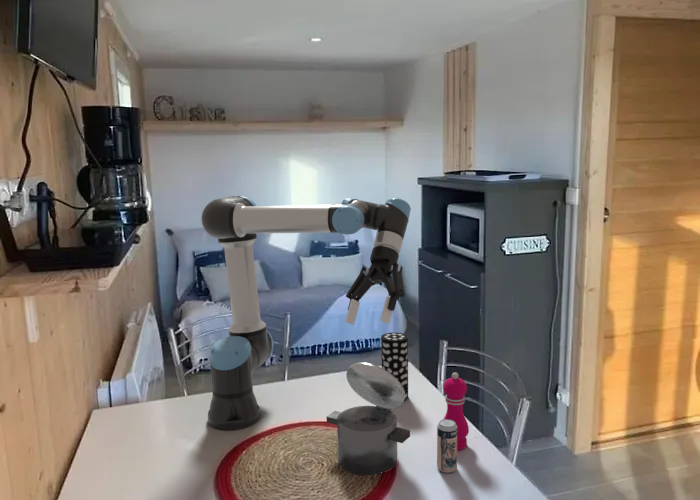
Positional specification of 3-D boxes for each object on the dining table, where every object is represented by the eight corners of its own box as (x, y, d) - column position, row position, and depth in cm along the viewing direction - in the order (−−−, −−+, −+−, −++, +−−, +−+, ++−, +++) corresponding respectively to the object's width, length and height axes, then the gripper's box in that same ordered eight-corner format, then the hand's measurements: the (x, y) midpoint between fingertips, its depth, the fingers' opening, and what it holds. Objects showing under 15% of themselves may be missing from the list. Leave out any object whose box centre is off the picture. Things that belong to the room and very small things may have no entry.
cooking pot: (315, 461, 146) (313, 420, 144) (347, 436, 158) (346, 398, 156) (391, 486, 134) (391, 442, 132) (420, 457, 146) (419, 416, 145)
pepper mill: (468, 452, 148) (469, 378, 145) (440, 450, 150) (440, 377, 146) (468, 439, 155) (469, 368, 152) (441, 437, 157) (441, 367, 153)
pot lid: (338, 361, 146) (343, 352, 148) (357, 403, 156) (362, 395, 157) (394, 372, 138) (399, 363, 139) (410, 416, 147) (414, 407, 149)
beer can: (444, 476, 138) (444, 429, 136) (433, 466, 142) (433, 420, 140) (460, 471, 140) (461, 424, 138) (450, 462, 144) (450, 416, 142)
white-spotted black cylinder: (409, 402, 179) (409, 340, 176) (382, 402, 179) (381, 341, 176) (407, 391, 187) (406, 332, 184) (381, 392, 187) (380, 332, 184)
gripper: (429, 252, 153) (410, 327, 145) (364, 261, 171) (345, 328, 163) (410, 239, 148) (391, 315, 140) (347, 249, 167) (326, 318, 159)
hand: (366, 322), depth 152 cm, fingers open, 13 cm apart
